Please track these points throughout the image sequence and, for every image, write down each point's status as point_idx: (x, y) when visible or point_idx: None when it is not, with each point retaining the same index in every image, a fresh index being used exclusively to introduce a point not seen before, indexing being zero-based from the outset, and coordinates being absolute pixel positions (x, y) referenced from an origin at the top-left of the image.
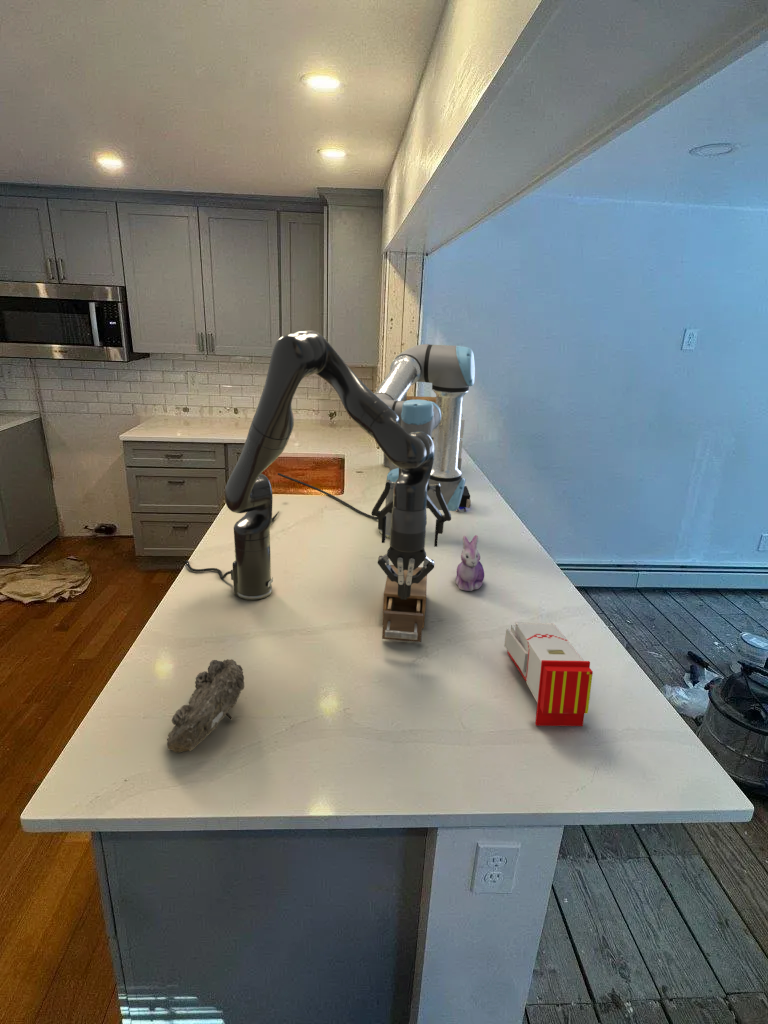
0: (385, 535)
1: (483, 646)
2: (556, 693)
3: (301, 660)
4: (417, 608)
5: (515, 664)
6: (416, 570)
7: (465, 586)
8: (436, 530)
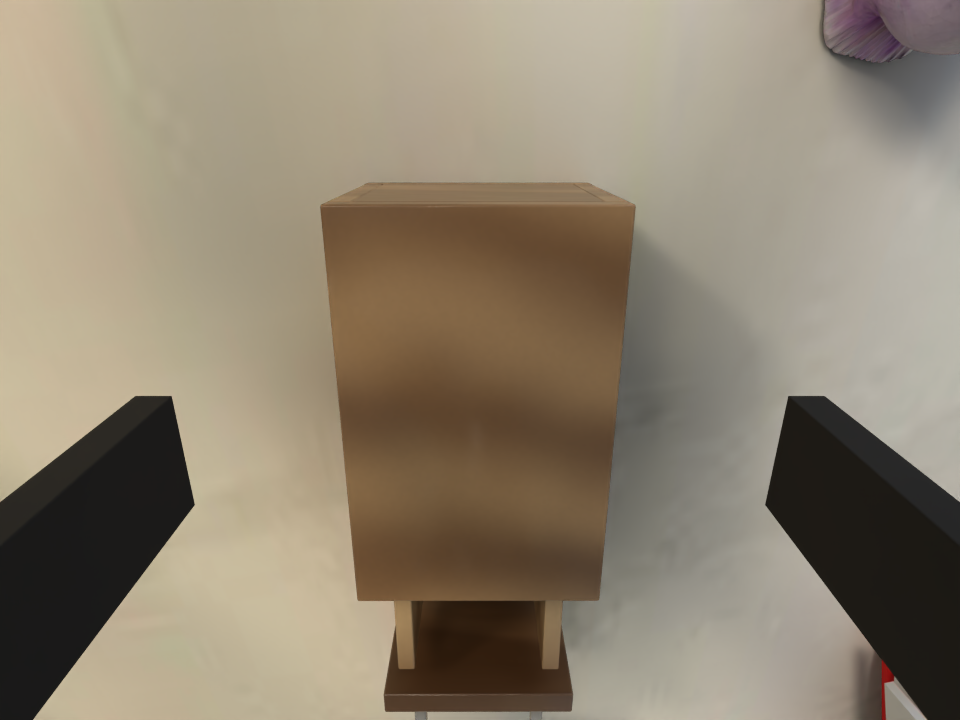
0: (146, 434)
1: (799, 567)
2: None
3: (158, 710)
4: (547, 651)
5: (883, 698)
6: (546, 274)
7: (874, 44)
8: (912, 677)
